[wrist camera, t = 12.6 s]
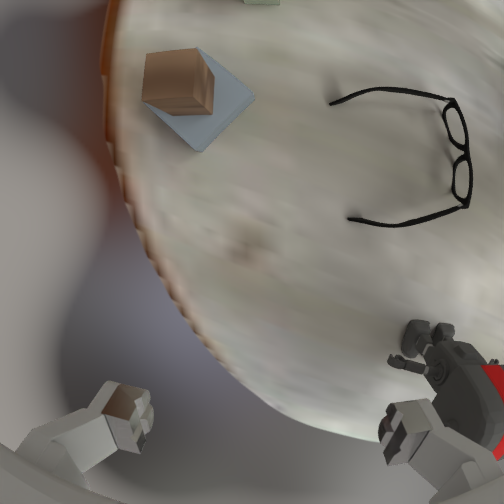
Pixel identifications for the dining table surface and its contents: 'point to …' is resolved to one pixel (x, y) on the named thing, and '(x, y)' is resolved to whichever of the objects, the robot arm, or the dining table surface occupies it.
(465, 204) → the glasses
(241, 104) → the slate pedestal
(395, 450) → the robot arm
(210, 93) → the walnut block
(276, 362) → the dining table surface
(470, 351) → the toy robot
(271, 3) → the sage block
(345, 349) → the dining table surface
